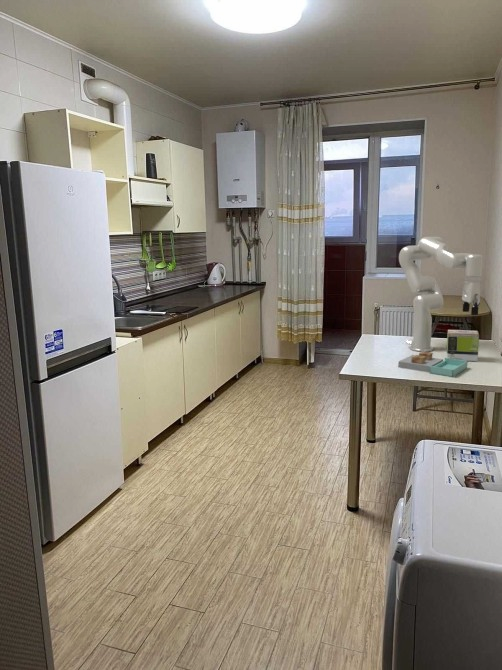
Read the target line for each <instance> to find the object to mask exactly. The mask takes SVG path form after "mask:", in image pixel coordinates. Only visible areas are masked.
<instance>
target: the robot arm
mask: <svg viewBox="0 0 502 670" xmlns="http://www.w3.org/2000/svg"><path fill="white" fill-rule="evenodd" d="M432 257H433V258H435V259H436V260H437V262H438V264H440V265H441V266H443V267H445V268H448V269H451V270H452V269H454V270H455V269H456V270H457V269H465V271H464V283H463V288H462V292H461V293H462V295H461V300H462V312H463V313H464V312H465V313H467V312H468V313H469V312H470V305H471V312H470V315H471V316H479V315H478V314H479V307H480V304H481V298H480V296H481V284H480V283H481V281H482V272H483V271H482V270H483V257H484V256H483V255H481V254H475V253H474V254H473V253H467V252H462V253H457V252H456V253H452V252H449V246H448V244H446V243H445V240H444V238H442V237H440V236H423V237H422V238H420V239H419V241H418V244H417V245H406V246H405V247H402V248H401V250H400V251H399V254H398V262H399V266H400V267H401V269H402V271H403V273H404V275H405V278H406V281H407V284H408V286H409V289H410V291H411V292H412V293H413V294H418V295H416V296H415V297H414V298H413V300H412V305H413V315H414V316H413V337H412V340H408V339H407V340H406V345H410V346H409V349H410V350H411V351H414V352H420V353H421V352H423V351H424V352H432V351H433V350H434V347H433V346H431V345H432V343H431V342H432V325H433V323H432V322H433V318H432V314H431V312H430V311H437V310H441V308H442V307H443V306H444V297H443V294H442V292H441V288H440V286H439V284H438V281H437V280H436V278H434V277H432V276H430V275H423V274H422V271H421V269H420V267H419V265H417V264H416V263H415V262H414V261H426V260H428V259H431V258H432ZM470 303H471V304H470Z"/></svg>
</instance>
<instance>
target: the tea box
mask: <svg viewBox="0 0 502 670" xmlns="http://www.w3.org/2000/svg"><path fill="white" fill-rule="evenodd" d="M446 336H447V338H446V358H449V359H456V360H463V361H469V362H478V361H479V360H478V359H479V346H480V345H479V344H480V334H479V331H478V330H467V329H466V330H465V329H464V330H463V329H447V335H446Z"/></svg>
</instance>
